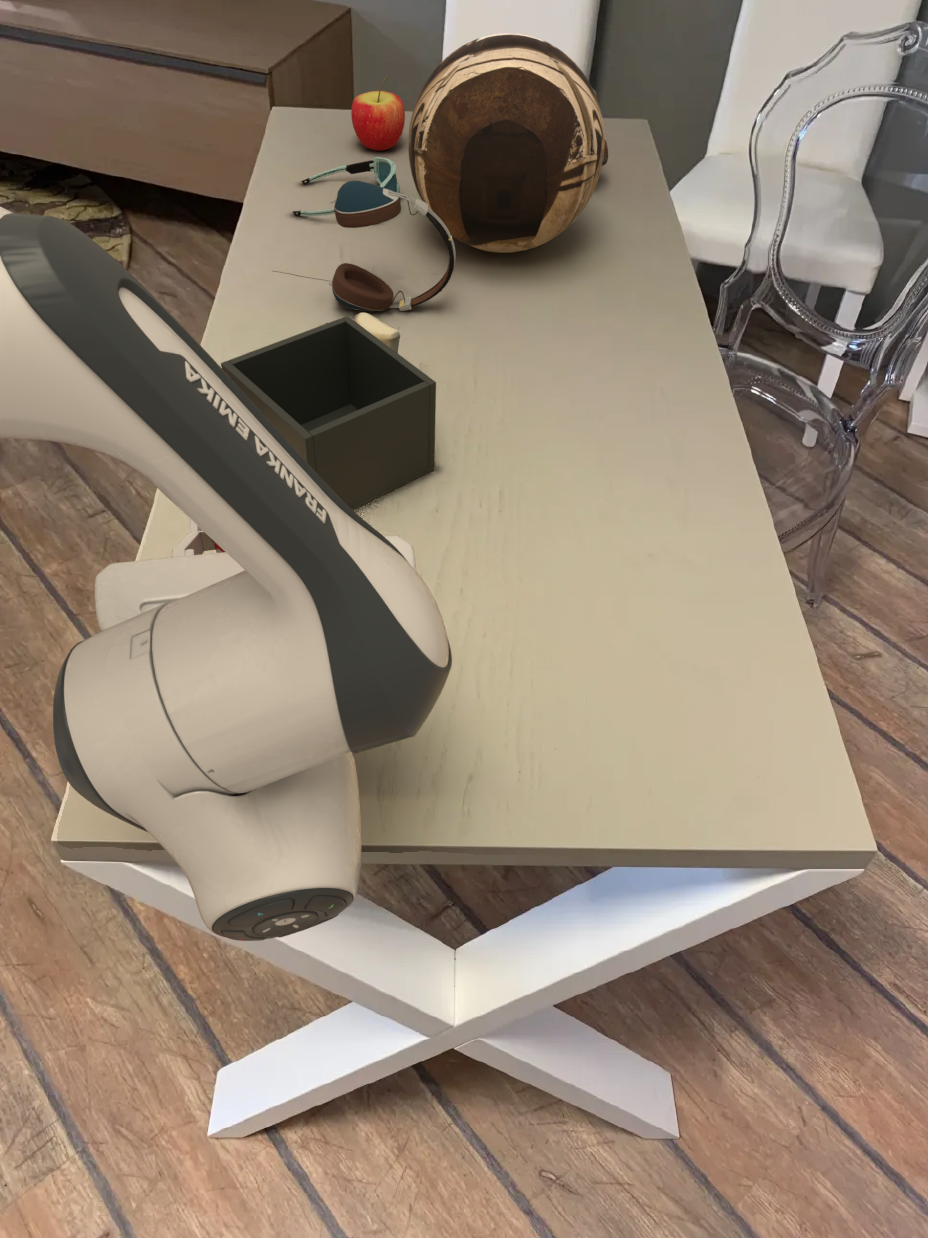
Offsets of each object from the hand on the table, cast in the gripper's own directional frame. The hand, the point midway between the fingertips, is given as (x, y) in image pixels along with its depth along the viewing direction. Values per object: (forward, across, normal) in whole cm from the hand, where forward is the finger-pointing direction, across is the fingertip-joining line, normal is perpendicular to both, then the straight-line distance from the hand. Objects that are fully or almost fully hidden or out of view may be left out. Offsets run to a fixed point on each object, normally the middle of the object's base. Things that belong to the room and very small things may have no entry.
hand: (257, 518), depth 65 cm
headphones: (+57, -14, +17) cm, 61 cm away
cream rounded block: (+40, -13, +17) cm, 45 cm away
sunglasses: (+86, -15, +17) cm, 89 cm away
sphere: (+72, -34, +17) cm, 81 cm away
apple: (+105, -22, +17) cm, 108 cm away
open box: (+27, -7, +17) cm, 33 cm away
